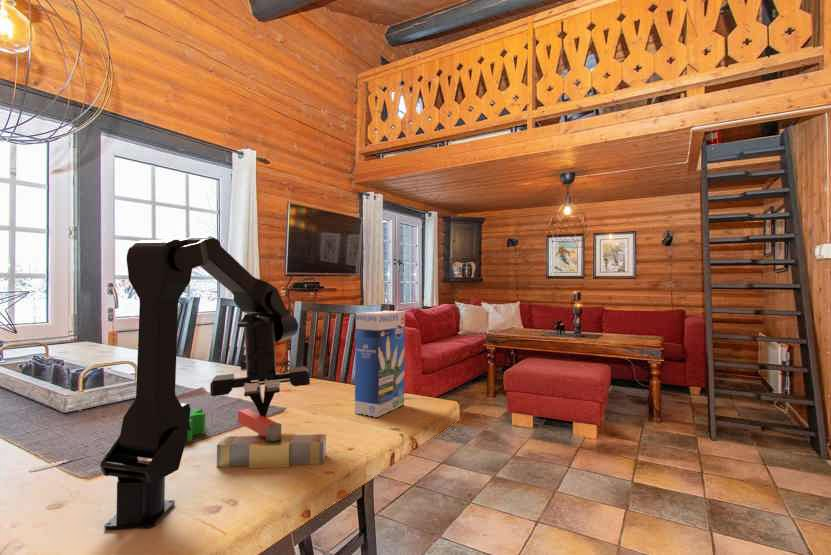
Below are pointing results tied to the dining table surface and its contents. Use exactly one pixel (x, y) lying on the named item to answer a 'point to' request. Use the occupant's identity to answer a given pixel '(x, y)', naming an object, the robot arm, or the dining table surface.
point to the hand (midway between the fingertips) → (263, 421)
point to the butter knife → (46, 466)
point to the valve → (271, 451)
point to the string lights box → (379, 362)
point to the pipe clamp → (196, 423)
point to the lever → (260, 424)
